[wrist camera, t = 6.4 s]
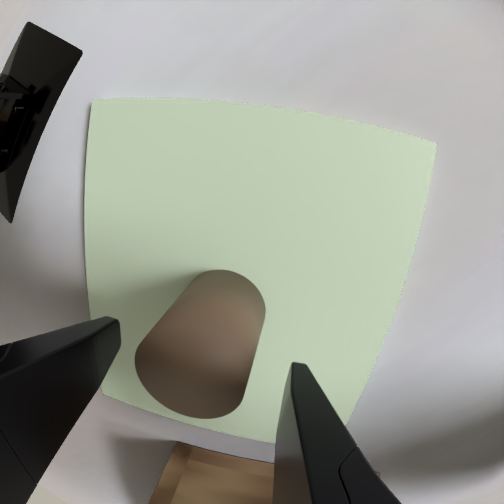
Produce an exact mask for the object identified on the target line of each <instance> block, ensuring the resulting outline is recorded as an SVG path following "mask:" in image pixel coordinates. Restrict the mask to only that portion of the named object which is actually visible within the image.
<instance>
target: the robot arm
mask: <svg viewBox="0 0 504 504" xmlns="http://www.w3.org/2000/svg"><path fill="white" fill-rule="evenodd" d="M120 347H121V330H120V322H119V320H118V319H116V318H113V317H110V316H104V317H101V318H97V319H94V320H90V321H87V322H83V323H80V324H76V325H73V326H69V327H66V328H62V329H59V330H55V331H52V332H48V333H45V334H41V335H38V336H34V337H30V338H27V339H23V340H20V341H16V342H13V343H8V344H5V345H1V346H0V504H26V503H27V501H28V499H29V498H30V496H31V494H32V493H33V491H34V489H35V488H36V486H37V484H38V482H39V481H40V479H41V477H42V476H43V474H44V472H45V471H46V469H47V467H48V466H49V464H50V463H51V461H52V459H53V458H54V456H55V455H56V453H57V451H58V450H59V448H60V447H61V445H62V443H63V442H64V440H65V439H66V437H67V436H68V434H69V432H70V431H71V429H72V428H73V426H74V425H75V423H76V422H77V420H78V419H79V417H80V416H81V414H82V412H83V411H84V409H85V408H86V406H87V405H88V403H89V402H90V400H91V399H92V397H93V396H94V394H95V393H96V391H97V390H98V388H99V387H100V385H101V384H102V382H103V380H104V378H105V376H106V374H107V372H108V370H109V368H110V366H111V365H112V363H113V361H114V359H115V357H116V355H117V353H118V351H119V349H120ZM356 446H357V444H356V443H355V441H354V439H353V438H352V436H351V435H350V433H349V431H348V430H347V428H346V427H345V425H344V423H343V422H342V420H341V419H340V417H339V415H338V414H337V412H336V411H335V409H334V407H333V406H332V404H331V403H330V401H329V399H328V398H327V396H326V395H325V393H324V391H323V390H322V388H321V387H320V385H319V383H318V382H317V380H316V379H315V377H314V375H313V374H312V372H311V370H310V369H309V367H308V366H307V365H306V364H305V363H299V362H292V363H291V365H290V369H289V372H288V376H287V380H286V383H285V387H284V393H283V398H282V404H281V410H280V415H279V421H278V426H277V432H276V443H275V463H274V481H273V498H272V504H401V502H400V501H399V500H398V499H397V498H396V497H395V495H394V494H393V493H392V492H391V491H390V490H389V488H388V487H387V486H386V485H385V484H384V482H383V481H382V480H381V479H380V477H379V476H378V475H377V474H376V472H375V471H374V470H373V468H372V467H371V465H370V464H369V462H368V461H367V459H366V458H365V457H364V455H363V453H362V452H361V450H360V449H359V447H356Z"/></svg>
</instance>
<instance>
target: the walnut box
mask: <svg viewBox="0 0 504 504" xmlns="http://www.w3.org/2000/svg"><path fill="white" fill-rule="evenodd" d="M376 474H377V475H378V476H379V477H380V473H379V472H376ZM273 481H274V464H273V463H267V462H261V461H256V460H250V459H245V458H240V457H236V456H231V455H227V454H222V453H218V452H214V451H210V450H206V449H202V448H198V447H195V446H191V445H188V444H184V443H181V442H176V445H175V447H174V449H173V451H172V453H171V456H170V458H169V460H168V462H167V464H166V467H165V469H164V471H163V473H162V475H161V478H160V480H159V482H158V484H157V486H156V489H155V491H154V493H153V495H152V497H151V499H150V502H149V504H272V498H273Z"/></svg>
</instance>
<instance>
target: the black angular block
mask: <svg viewBox="0 0 504 504" xmlns="http://www.w3.org/2000/svg"><path fill="white" fill-rule="evenodd" d="M82 54H83V52H82V50H80V49H78V48H77V47H75V46H73V45H71V44H70V43H68V42H66V41H64V40H63V39H61V38H59V37H57V36H55V35H53V34H52V33H50V32H48V31H46V30H44V29H42V28H40V27H39V26H37V25H35V24H33V23H31V22H27V23H26V25H25V27H24V28H23V30H22V32H21V34H20V36H19V38H18V40H17V41H16V43H15V45H14V47H13V49H12V51H11V54H10V56H9V58H8V60H7V62H6V64H5V66H4V69H3V71H2V73H1V74H0V212H1V214H2V215H3V216H4V217H5V218H6V219H7V220H8V222H9V223H12V221H13V217H14V213H15V210H16V206H17V203H18V199H19V196H20V193H21V190H22V187H23V184H24V180H25V178H26V175H27V172H28V169H29V166H30V163H31V161H32V158H33V155H34V153H35V150H36V148H37V145H38V143H39V140H40V138H41V135H42V133H43V131H44V128H45V126H46V124H47V122H48V119H49V117H50V115H51V113H52V111H53V109H54V106H55V104H56V102H57V100H58V98H59V96H60V94H61V92H62V90H63V88H64V87H65V85H66V83H67V81H68V79H69V77H70V75H71V74H72V72H73V70H74V68H75V66H76V65H77V63H78V61H79V60H80V58H81V56H82Z"/></svg>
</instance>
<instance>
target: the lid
mask: <svg viewBox="0 0 504 504" xmlns="http://www.w3.org/2000/svg"><path fill="white" fill-rule="evenodd" d="M436 147H437V143H435V142H432V141H429V140H425V139H422V138H419V137H415V136H412V135H408V134H405V133H401V132H398V131H394V130H390V129H387V128H383V127H379V126H375V125H371V124H366V123H362V122H358V121H353V120H349V119H344V118H339V117H334V116H329V115H324V114H318V113H313V112H307V111H301V110H295V109H288V108H281V107H274V106H267V105H258V104H250V103H240V102H229V101H217V100H202V99H181V98H113V99H93V100H92V106H91V113H90V122H89V131H88V142H87V154H86V170H85V196H84V235H85V262H86V278H87V290H88V301H89V311H90V319H91V320H94V319H97V318H101V317H104V316H110V317H113V318H116V319H118V320H119V322H120V330H121V347H120V349H119V351H118V353H117V355H116V357H115V359H114V361H113V363H112V365H111V366H110V368H109V370H108V372H107V374H106V376H105V378H104V380H103V382H102V384H101V387H102V392H103V394H104V395H106V396H109V397H111V398H114V399H116V400H119V401H122V402H124V403H127V404H130V405H132V406H135V407H138V408H140V409H143V410H146V411H149V412H152V413H155V414H158V415H161V416H164V417H167V418H170V419H174V420H177V421H180V422H184V423H187V424H191V425H194V426H198V427H202V428H205V429H209V430H213V431H217V432H221V433H225V434H230V435H234V436H239V437H243V438H248V439H253V440H258V441H264V442H269V443H276V432H277V426H278V421H279V415H280V410H281V404H282V398H283V393H284V387H285V383H286V380H287V376H288V372H289V369H290V365H291V363H292V362H299V363H305V364H306V365H307V366H308V367H309V369H310V370H311V372H312V374H313V375H314V377H315V379H316V380H317V382H318V383H319V385H320V387H321V388H322V390H323V391H324V393H325V395H326V396H327V398H328V399H329V401H330V403H331V404H332V406H333V407H334V409H335V411H336V412H337V414H338V415H339V417H340V419H341V420H342V422H343V423H344V425H345V426H346V424H347V422H348V420H349V418H350V416H351V414H352V412H353V410H354V408H355V406H356V404H357V402H358V400H359V398H360V396H361V393H362V391H363V389H364V387H365V385H366V382H367V380H368V378H369V376H370V373H371V371H372V369H373V367H374V364H375V362H376V359H377V357H378V355H379V352H380V350H381V347H382V345H383V342H384V340H385V337H386V334H387V332H388V329H389V327H390V324H391V321H392V318H393V316H394V313H395V310H396V307H397V304H398V301H399V298H400V295H401V292H402V289H403V286H404V283H405V280H406V277H407V274H408V270H409V267H410V264H411V260H412V257H413V253H414V250H415V246H416V242H417V238H418V235H419V231H420V227H421V223H422V219H423V214H424V210H425V206H426V201H427V197H428V192H429V187H430V182H431V177H432V171H433V166H434V160H435V154H436Z"/></svg>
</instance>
